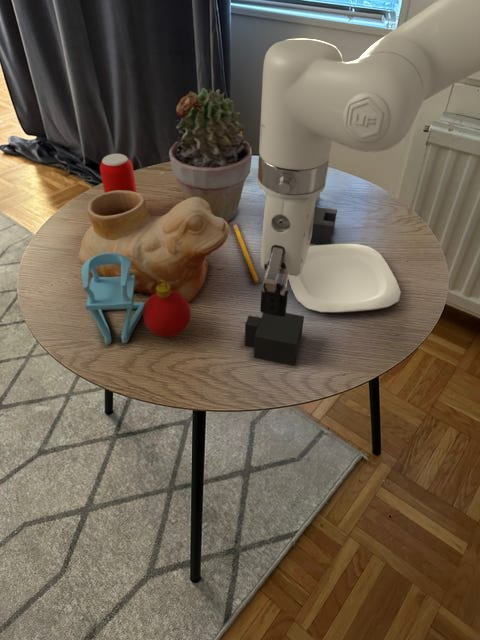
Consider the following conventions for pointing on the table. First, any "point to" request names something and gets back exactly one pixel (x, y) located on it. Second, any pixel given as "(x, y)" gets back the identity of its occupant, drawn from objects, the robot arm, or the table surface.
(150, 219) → the ceramic vessel
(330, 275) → the plate
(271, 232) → the robot arm
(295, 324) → the black rectangular block
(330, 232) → the socket pad
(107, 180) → the beverage can
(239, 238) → the pencil
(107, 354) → the table surface
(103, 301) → the chair
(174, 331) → the christmas ornament
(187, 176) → the potted plant
